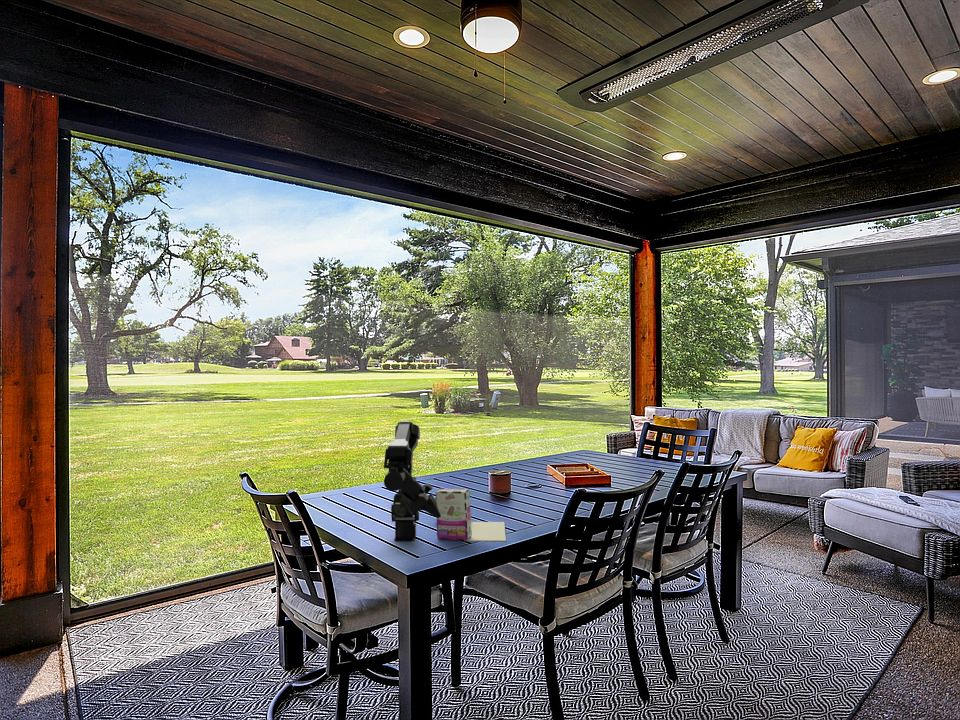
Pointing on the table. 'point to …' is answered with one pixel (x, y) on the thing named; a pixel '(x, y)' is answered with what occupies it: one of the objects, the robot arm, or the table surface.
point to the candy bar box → (454, 514)
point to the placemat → (487, 531)
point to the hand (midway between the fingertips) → (439, 517)
